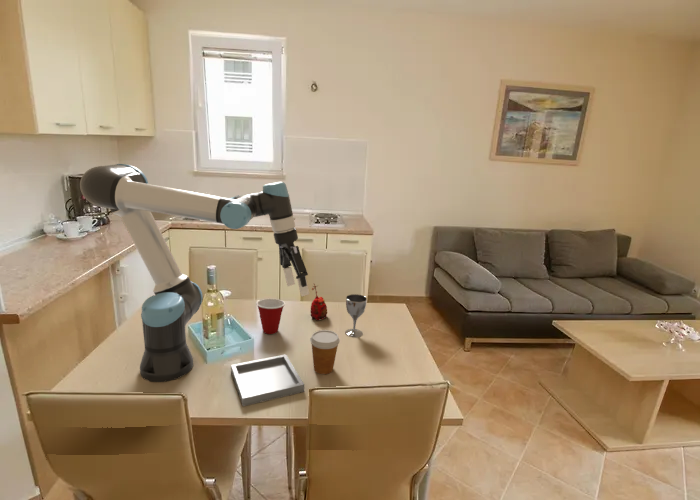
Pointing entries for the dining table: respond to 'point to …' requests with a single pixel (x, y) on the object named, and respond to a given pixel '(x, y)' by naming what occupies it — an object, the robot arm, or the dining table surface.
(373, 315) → the dining table surface
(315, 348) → the disposable coffee cup
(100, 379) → the dining table surface
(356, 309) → the wine glass
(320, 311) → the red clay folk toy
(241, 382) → the tray
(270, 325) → the plastic cup
